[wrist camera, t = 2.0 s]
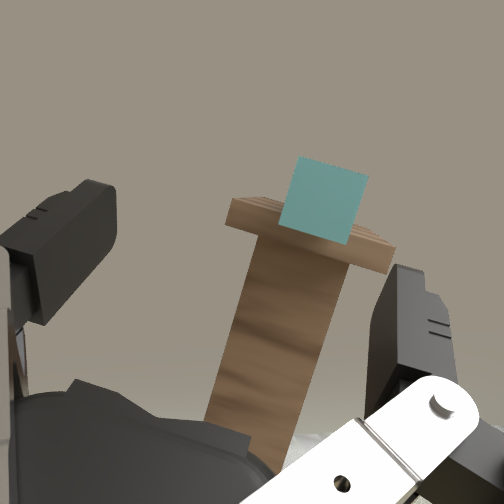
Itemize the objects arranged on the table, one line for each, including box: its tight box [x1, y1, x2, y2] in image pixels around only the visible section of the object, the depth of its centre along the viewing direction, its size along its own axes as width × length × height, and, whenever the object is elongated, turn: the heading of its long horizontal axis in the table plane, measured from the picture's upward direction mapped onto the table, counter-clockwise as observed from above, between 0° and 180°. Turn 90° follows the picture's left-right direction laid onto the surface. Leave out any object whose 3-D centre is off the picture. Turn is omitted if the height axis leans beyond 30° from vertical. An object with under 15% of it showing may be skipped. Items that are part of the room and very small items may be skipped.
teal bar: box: [278, 156, 368, 245], centre depth 36 cm, size 26×4×4 cm, turn 171°
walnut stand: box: [204, 197, 396, 475], centre depth 45 cm, size 20×16×32 cm
